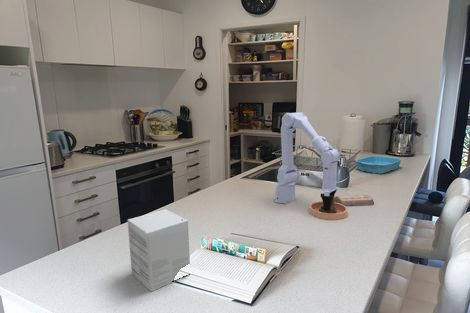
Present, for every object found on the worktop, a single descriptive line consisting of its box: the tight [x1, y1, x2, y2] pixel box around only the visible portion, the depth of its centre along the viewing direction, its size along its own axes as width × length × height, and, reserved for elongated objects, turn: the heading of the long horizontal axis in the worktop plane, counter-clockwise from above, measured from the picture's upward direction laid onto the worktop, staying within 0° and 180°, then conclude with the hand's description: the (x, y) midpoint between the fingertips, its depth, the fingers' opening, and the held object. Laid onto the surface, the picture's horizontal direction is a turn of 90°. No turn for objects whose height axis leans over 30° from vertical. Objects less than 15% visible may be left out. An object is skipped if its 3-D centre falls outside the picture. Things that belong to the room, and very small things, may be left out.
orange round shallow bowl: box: [308, 200, 349, 221], centre depth 141 cm, size 16×16×4 cm
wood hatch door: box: [322, 196, 335, 211], centre depth 141 cm, size 5×2×7 cm, turn 66°
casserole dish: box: [355, 155, 403, 175], centre depth 222 cm, size 37×22×7 cm, turn 132°
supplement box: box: [127, 208, 191, 292], centre depth 96 cm, size 13×13×18 cm
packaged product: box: [334, 194, 375, 207], centre depth 153 cm, size 18×5×10 cm
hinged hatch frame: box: [319, 206, 337, 213], centre depth 141 cm, size 7×5×2 cm, turn 66°
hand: (328, 207), depth 141 cm, fingers open, 7 cm apart
